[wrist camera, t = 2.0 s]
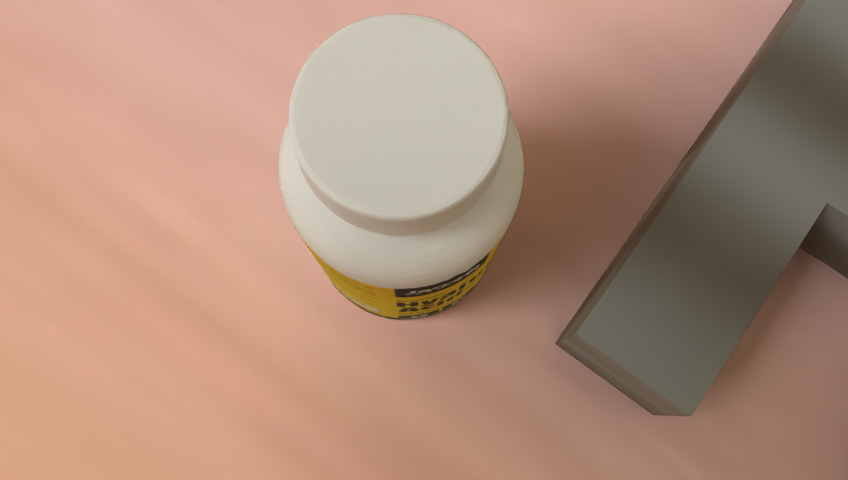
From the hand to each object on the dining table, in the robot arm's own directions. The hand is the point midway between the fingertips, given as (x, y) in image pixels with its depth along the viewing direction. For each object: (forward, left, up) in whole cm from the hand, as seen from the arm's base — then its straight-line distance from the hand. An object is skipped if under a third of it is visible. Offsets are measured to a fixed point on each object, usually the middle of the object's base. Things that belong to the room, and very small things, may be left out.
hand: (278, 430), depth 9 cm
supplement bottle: (+4, -4, -12) cm, 13 cm away
